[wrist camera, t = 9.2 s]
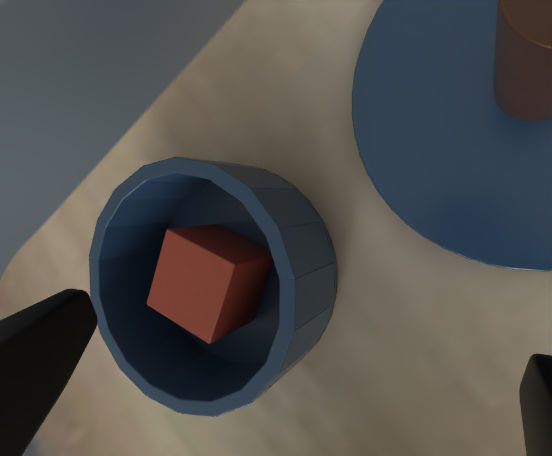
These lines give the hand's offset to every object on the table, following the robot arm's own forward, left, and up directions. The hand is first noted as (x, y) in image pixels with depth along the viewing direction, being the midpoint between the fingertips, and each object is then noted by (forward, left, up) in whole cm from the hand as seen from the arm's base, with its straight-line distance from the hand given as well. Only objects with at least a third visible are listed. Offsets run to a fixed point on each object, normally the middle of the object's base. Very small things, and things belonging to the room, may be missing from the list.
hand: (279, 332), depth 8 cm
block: (+5, +6, -11) cm, 14 cm away
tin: (+6, +6, -12) cm, 15 cm away
